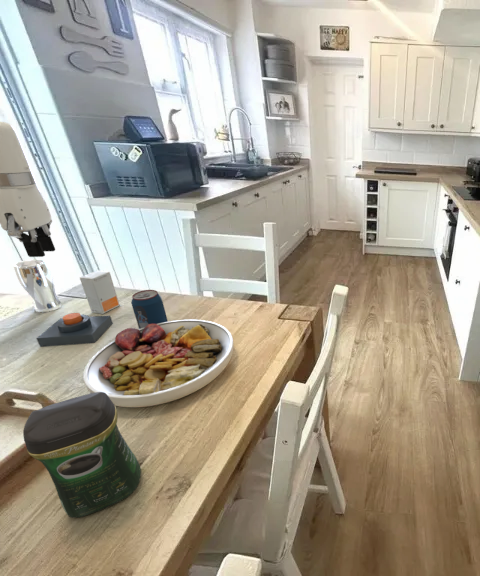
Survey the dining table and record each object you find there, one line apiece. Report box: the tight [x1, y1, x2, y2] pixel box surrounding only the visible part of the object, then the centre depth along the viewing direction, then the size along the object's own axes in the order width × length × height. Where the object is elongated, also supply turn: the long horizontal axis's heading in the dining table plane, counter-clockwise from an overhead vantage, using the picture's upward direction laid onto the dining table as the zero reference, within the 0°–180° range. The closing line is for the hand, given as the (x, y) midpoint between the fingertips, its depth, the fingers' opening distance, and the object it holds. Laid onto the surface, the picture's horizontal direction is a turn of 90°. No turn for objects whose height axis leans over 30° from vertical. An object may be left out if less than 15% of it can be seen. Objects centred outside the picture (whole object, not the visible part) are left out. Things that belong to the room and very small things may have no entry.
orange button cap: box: [62, 312, 82, 325], centre depth 88 cm, size 4×4×2 cm
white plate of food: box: [82, 319, 235, 408], centre depth 78 cm, size 30×30×8 cm
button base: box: [36, 313, 114, 348], centre depth 89 cm, size 12×10×4 cm
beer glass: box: [12, 258, 63, 314], centre depth 97 cm, size 7×7×15 cm
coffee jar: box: [22, 392, 142, 519], centre depth 49 cm, size 10×8×19 cm
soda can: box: [130, 289, 169, 329], centre depth 91 cm, size 7×7×12 cm
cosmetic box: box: [79, 269, 120, 315], centre depth 100 cm, size 6×4×12 cm
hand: (42, 253), depth 83 cm, fingers open, 3 cm apart
